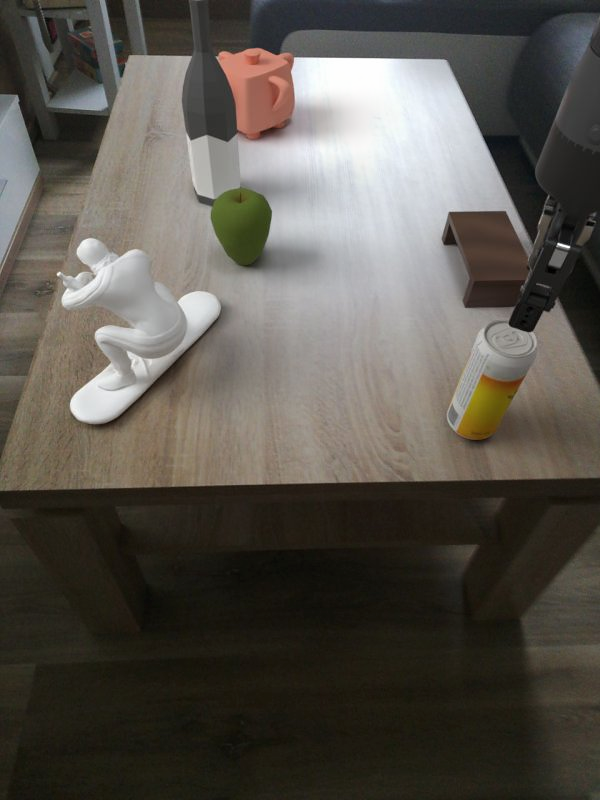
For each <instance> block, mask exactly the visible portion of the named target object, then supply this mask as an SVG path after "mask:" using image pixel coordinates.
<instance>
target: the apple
mask: <svg viewBox="0 0 600 800" xmlns="http://www.w3.org/2000/svg"><path fill="white" fill-rule="evenodd" d="M272 217H273V210H272V207H271V206H270V203H269V201H268V200H267V198H266V196H265V195H263V194H262V193H259V192H257V191H256V190H253V189H251V188H245V187H241V188H237V189H231V190H228V191H226V192H224V193H222V194H221V195H220V196H218V198H217V199H216V200H215V201H214V204H213V206H211V210H210V217H209V218H210V221H211V224H212V227H213V230H214V233H215V236H216V238H217V240H218V241H219V243H220V245H221V247H222V248H223V251H224V253H225V254H226V256H227V257H228V258H230V259H231V260H232V261H233V262H234V263H236V264H237V265H240V266H250V265H252V264H253V263H254V262H255V261H256V260H257V259H258V258H259V257H260V256H261V255H262V253H263V251H264V249H265V246H266V242H267V240H268V238H269V235H270V229H271V224H272V219H273V218H272Z"/></svg>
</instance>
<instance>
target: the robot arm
mask: <svg viewBox="0 0 600 800" xmlns="http://www.w3.org/2000/svg"><path fill="white" fill-rule="evenodd" d="M534 170H535V171H534V175H535V178H536V181H537V183H538V185H539V187H540V188H541V189H542V190H543V191H544V192H545V193H546V194H547V197H546V200H545V202H544V205H543V207H542V213H541V216H540V218H539V221H538V223H537V226H536V230H537V234H536V237H535V239H534V242H533V243H532V247H531V250H530V252H529V254H528V256H527V257H528V259H527V269H528V270H529V273H528V276H527V278H526V281H525V283H524V285H522V286H521V289H520V291H521V293H520V295H519V299H518V301H517V304H516V306H514V308H513V310H512V312H511V314H510V317H509V319H510V320H509V326H510V327H512V328H515V329H518V330H522V331H525V332H532V331H533V332H534V331H535V328H536V326H537V325H538V323H539V321H540V319H541V317H542V316H543V314H544V312H546V313H550V312H551V311H552V310H553V309H554V308H555V305H556V300H557V299H558V297H559V295H560V293H561V292H562V289H563V287H564V285H565V283H566V282H567V279H568V277H569V276H570V275H571V274H572V271H573V269H574V267H575V264H576V262H577V261H578V259H580V258H581V256H582V253H583V251H582V249H583V246H584V244H585V243H587V242H588V241H589V240H590V238H591V236H592V234H593V232H594V229H595V226H596V223H597V221H595V220H594V219H595V217H596V215H597V213H599V212H600V15H599V16H598V19H597V21H596V24H595V27H594V28H593V31H592V34H591V37H590V38H589V42H588V44H587V46H586V49H585V51H584V52H583V54H582V56H581V58H580V60H579V61H578V63H577V65H576V67H575V68H574V71H573V73H572V75H571V77H570V79H569V82H568V84H567V87H566V89H565V91H564V94H563V97H562V99H561V101H560V105H559V107H558V109H557V112H556V114H555V117H554V119H553V122H552V125H551V127H550V129H549V133H548V135H547V138H546V140H545V142H544V145H543V147H542V150H541V153H540V155H539V158H538V161H537V162H536V165H535V169H534Z"/></svg>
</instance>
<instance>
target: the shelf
mask: <svg viewBox="0 0 600 800" xmlns="http://www.w3.org/2000/svg"><path fill="white" fill-rule="evenodd" d="M520 240H521V239H520V238H519V236H518V233H517V232H516V230H515V228H514V225H513V223H512V221H511V219H510V217H509V215H508V212H507V211H506V210H477V211H475V210H474V211H471V210H470V211H468V210H467V211H464V210H463V211H448V213H447V218H446V221H445V225H444V228H443V231H442V236H441V241H442V245H445V246H446V245H451V246H452V245H456V246H457V247H458V250H459V253H460V255H461V258H462V261H463V264H464V266H465V269H466V272H467V275H468V277H469V281H468V284H467V286H466V288H465V292H464V295H463V298H462V302H463V305H464V308H505V307H507V308H508V307H509V308H510V307H515V306H516V304H517V301H518V299H519V295H520V293H521V291H520V289H521V286H522V285H524V283H525V281H526V278H527V276H528V273H529V270H528V269H527V259H528V257H529V256H528V255H527V253H526V250H525V248H524V246H523V244H522V241H520Z"/></svg>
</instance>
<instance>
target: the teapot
mask: <svg viewBox="0 0 600 800" xmlns="http://www.w3.org/2000/svg"><path fill="white" fill-rule="evenodd" d="M217 60H218V62H219V64H220V65H221V67H222V69H223V71H224V72H225V74H226V76H227V79H228V81H229V84H230V86H231V89H232V93H233V96H234V100H235V103H236V119H237V131H239V132H241V133H243V134H245V135H246V137H247V138H248V139H249V140H258V139H259V138H260V137H261V132H263V131H266V130H269V129H271V128H274V129H281V128H284V127H285V123H284V122H285V121H287V120H288V119H290V118H291V117H292V116H293V113H294V110H295V105H296V104H295V103H296V97H295V96H296V95H295V94H296V93H295V85H294V80H293V79H294V78H293V74H292V70H293V67H294V63H295V57H294V54H292V53H291V52H283V53H280V54H278V55H276V54H275V53H272V52H270V51H267V50H265V49H263V48H260V47H255V48H254V47H253V48H247V49H245V50H243V51H239V52H237V53H231V52H229V51H226V50H225V51H220V52H219V53H218V56H217Z"/></svg>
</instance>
